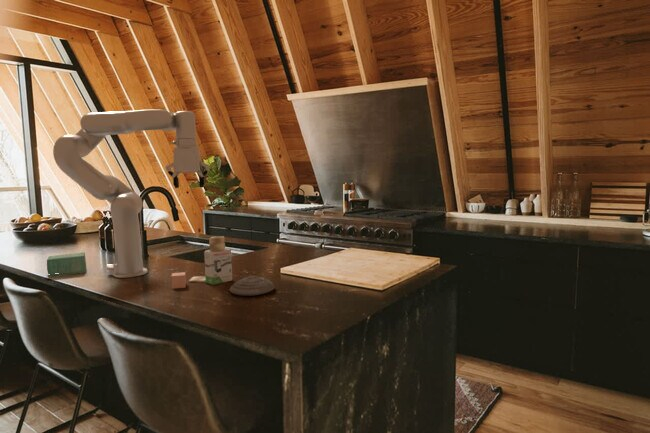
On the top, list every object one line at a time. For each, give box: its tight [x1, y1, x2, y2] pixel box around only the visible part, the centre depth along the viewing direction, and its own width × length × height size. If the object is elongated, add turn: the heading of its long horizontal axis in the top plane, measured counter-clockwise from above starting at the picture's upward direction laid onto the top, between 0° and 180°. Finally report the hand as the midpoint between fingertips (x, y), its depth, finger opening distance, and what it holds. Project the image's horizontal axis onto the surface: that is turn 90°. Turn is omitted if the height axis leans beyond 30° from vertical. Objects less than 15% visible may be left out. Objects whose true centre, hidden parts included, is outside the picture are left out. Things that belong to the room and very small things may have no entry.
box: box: [46, 251, 88, 278], centre depth 188 cm, size 7×14×8 cm, turn 116°
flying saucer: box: [228, 275, 276, 297], centre depth 156 cm, size 15×15×6 cm
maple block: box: [208, 235, 226, 251], centre depth 168 cm, size 4×4×4 cm
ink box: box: [203, 247, 233, 286], centre depth 169 cm, size 9×5×12 cm, turn 136°
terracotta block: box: [170, 271, 187, 289], centre depth 164 cm, size 4×4×4 cm
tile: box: [188, 275, 206, 283], centre depth 173 cm, size 6×6×1 cm
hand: (189, 187), depth 184 cm, fingers open, 9 cm apart
